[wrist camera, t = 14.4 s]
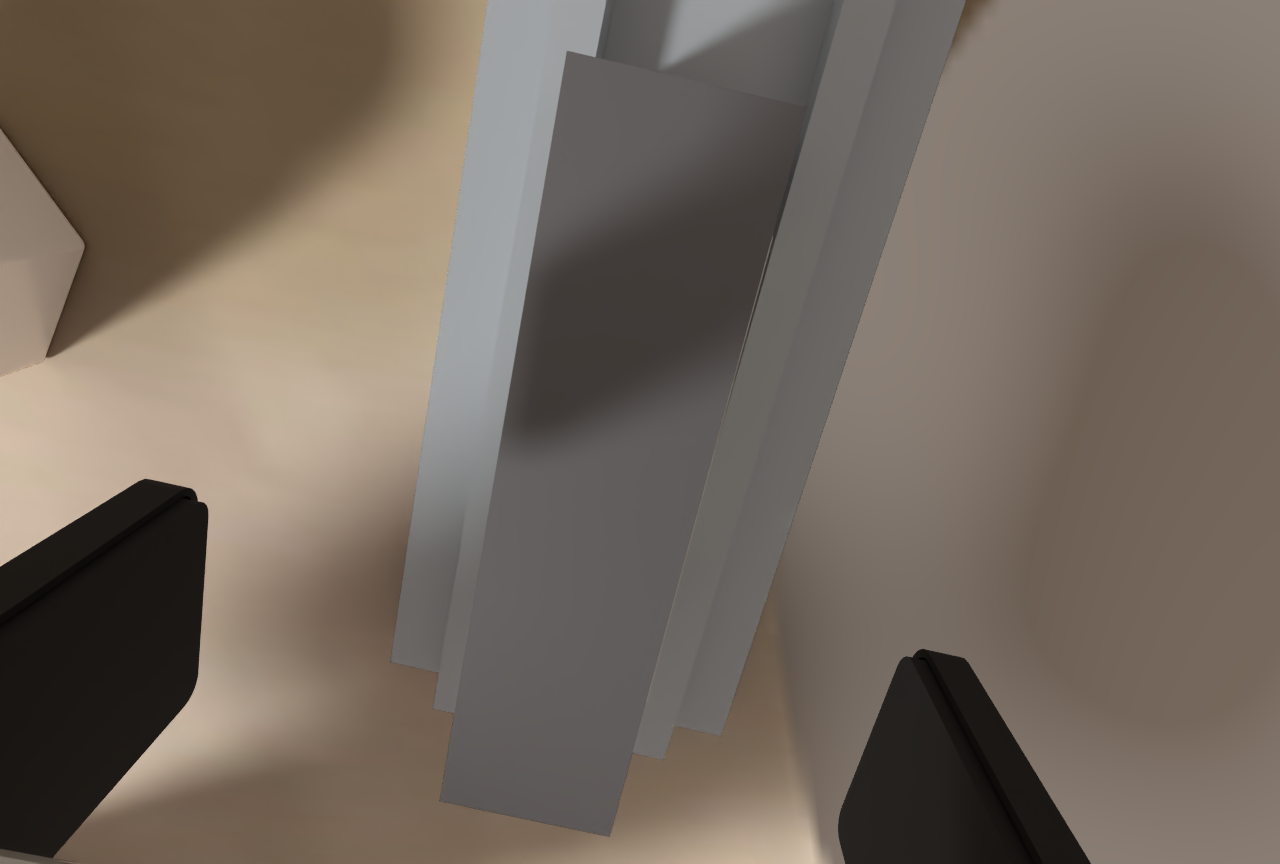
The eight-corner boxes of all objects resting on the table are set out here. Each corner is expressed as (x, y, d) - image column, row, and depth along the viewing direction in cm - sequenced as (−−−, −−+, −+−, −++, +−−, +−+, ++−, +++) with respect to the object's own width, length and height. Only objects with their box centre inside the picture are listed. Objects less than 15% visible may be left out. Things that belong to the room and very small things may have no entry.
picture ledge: (719, 708, 30) (723, 773, 27) (404, 637, 30) (371, 695, 27) (975, -76, 21) (1025, -112, 18) (530, -192, 21) (503, -248, 18)
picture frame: (650, 568, 27) (629, 840, 16) (534, 543, 27) (439, 800, 16) (762, 124, 22) (834, 113, 12) (622, 91, 22) (566, 49, 11)
